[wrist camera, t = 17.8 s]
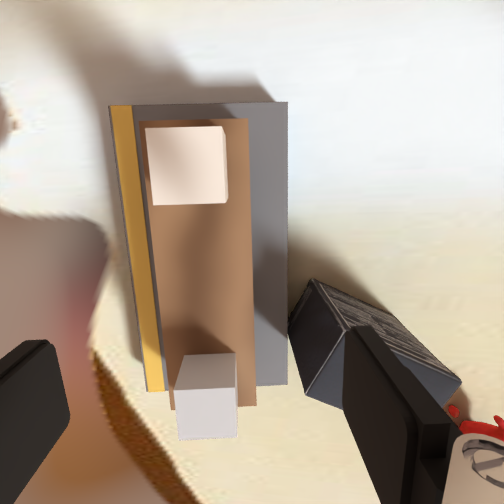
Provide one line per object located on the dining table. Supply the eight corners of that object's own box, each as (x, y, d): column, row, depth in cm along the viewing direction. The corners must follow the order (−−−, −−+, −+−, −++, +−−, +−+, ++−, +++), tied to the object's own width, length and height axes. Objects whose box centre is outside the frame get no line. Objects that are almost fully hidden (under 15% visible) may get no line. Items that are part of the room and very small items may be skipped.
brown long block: (246, 129, 25) (248, 118, 20) (253, 368, 30) (256, 405, 25) (158, 131, 24) (138, 120, 19) (182, 371, 30) (171, 410, 25)
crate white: (225, 135, 20) (221, 126, 16) (228, 197, 21) (225, 202, 17) (163, 137, 20) (144, 128, 16) (169, 199, 21) (153, 205, 17)
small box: (281, 328, 32) (299, 399, 22) (310, 275, 31) (344, 325, 21) (365, 364, 34) (419, 446, 24) (396, 315, 33) (467, 380, 22)
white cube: (235, 352, 24) (234, 387, 20) (237, 396, 25) (237, 437, 21) (184, 355, 24) (173, 390, 20) (188, 398, 25) (178, 440, 21)
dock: (282, 109, 27) (287, 101, 24) (283, 366, 34) (287, 385, 31) (122, 113, 27) (107, 105, 24) (154, 372, 33) (146, 392, 30)
